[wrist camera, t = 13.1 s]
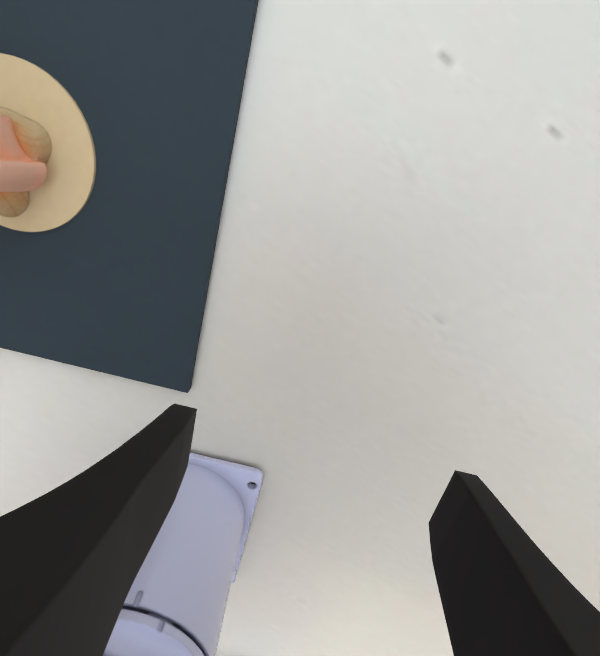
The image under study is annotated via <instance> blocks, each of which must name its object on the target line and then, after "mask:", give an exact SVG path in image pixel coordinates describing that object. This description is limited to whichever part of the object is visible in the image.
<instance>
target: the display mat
mask: <svg viewBox="0 0 600 656" xmlns="http://www.w3.org/2000/svg"><path fill="white" fill-rule="evenodd" d="M257 5H258V0H0V107H4V108H8V109H10V110H12V111H14V112H16V113H18V114H20V115H23V116H25V117H27V118H29V119H31V120H33V121H35V122H37V123H39V124H40V125H41V126H43V127H44V129H45V130H46V131H47V133H48V134H49V137H50V139H51V145H52V150H51V154H50V157H49V159H48V161H47V163H46V164H45V165H46V167H47V175H46V179H45V181H44V183H43V184H42V185H41V186H40V187H39V188H37V189H35V190H33V191H28V194H29V204H28V207H27V208H26V209H25V211H24V212H23V213H22V214H20V215H19V216H16V217H4V216H1V215H0V348H4V349H9V350H13V351H17V352H21V353H25V354H29V355H33V356H38V357H42V358H46V359H50V360H54V361H58V362H62V363H66V364H71V365H75V366H79V367H83V368H87V369H91V370H95V371H99V372H104V373H108V374H112V375H116V376H120V377H124V378H128V379H132V380H137V381H141V382H145V383H149V384H153V385H157V386H161V387H166V388H170V389H174V390H178V391H182V392H186V393H188V392H189V390H190V388H191V383H192V377H193V372H194V366H195V360H196V355H197V349H198V343H199V337H200V332H201V326H202V320H203V314H204V309H205V303H206V297H207V292H208V286H209V280H210V274H211V269H212V263H213V257H214V251H215V246H216V240H217V234H218V228H219V223H220V217H221V211H222V206H223V200H224V194H225V188H226V183H227V177H228V171H229V165H230V160H231V154H232V148H233V143H234V137H235V131H236V125H237V120H238V114H239V108H240V102H241V97H242V91H243V85H244V80H245V74H246V68H247V62H248V57H249V51H250V45H251V39H252V34H253V28H254V22H255V16H256V11H257Z"/></svg>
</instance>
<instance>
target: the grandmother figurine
mask: <svg viewBox="0 0 600 656" xmlns="http://www.w3.org/2000/svg"><path fill="white" fill-rule="evenodd" d="M51 150H52V145H51V139H50V137H49V134H48V133H47V131H46V130H45V129H44V127H43V126H41V125H40V124H39V123H37V122H35V121H33V120H31V119H29V118H27V117H25V116H23V115H20V114H18V113H16V112H14V111H12V110H10V109H8V108H4V107H0V215H1V216H4V217H16V216H19V215H20V214H22V213H23V212H24V211H25V209H26V208H27V207H28V204H29V194H28V191H33V190H35V189H37V188H39V187H40V186H41V185H42V184H43V183H44V181H45V179H46V175H47V167H46V165H45V164H46V163H47V161H48V159H49V157H50V154H51Z"/></svg>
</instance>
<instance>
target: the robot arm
mask: <svg viewBox="0 0 600 656" xmlns="http://www.w3.org/2000/svg"><path fill="white" fill-rule="evenodd" d="M196 411H197V409H195V408H191V407H187V406H182V405H178V404H173V405H171V406H170V407H169V408H167V409H166V410H165V411H164V412H163V413H162V414H161V415H159V416H158V417H157V418H156V419H155V420H154V421H152V422H151V423H150V424H149V425H147V426H146V427H145V428H144V429H143V430H141V431H140V432H139V433H137V434H136V435H135V436H134V437H132V438H131V439H130V440H128V441H127V442H126V443H124V444H123V445H122V446H120V447H119V448H118V449H116V450H115V451H113V452H112V453H111V454H109V455H108V456H106V457H105V458H103V459H102V460H100V461H99V462H97V463H96V464H94V465H93V466H91V467H90V468H88V469H87V470H85V471H84V472H82V473H81V474H79V475H77V476H76V477H74V478H72V479H71V480H69V481H67V482H66V483H64V484H62V485H61V486H59V487H57V488H55V489H54V490H52V491H50V492H48V493H46V494H45V495H43V496H41V497H39V498H37V499H35V500H33V501H31V502H29V503H27V504H25V505H23V506H21V507H19V508H17V509H15V510H13V511H11V512H9V513H7V514H5V515H3V516H1V517H0V656H215V655H216V650H217V646H218V641H219V636H220V632H221V627H222V622H223V618H224V613H225V608H226V604H227V599H228V595H229V590H230V585H231V583H233V582H234V581H235V578H236V574H237V571H238V567H239V564H240V560H241V556H242V553H243V549H244V546H245V542H246V538H247V535H248V531H249V528H250V524H251V520H252V517H253V513H254V510H255V506H256V502H257V499H258V495H259V492H260V488H261V484H262V481H263V472H262V471H261V470H260V469H257V468H254V467H249V466H245V465H241V464H237V463H232V462H228V461H224V460H220V459H215V458H211V457H207V456H203V455H198V454H194V453H190V449H191V443H192V436H193V430H194V424H195V418H196ZM250 482H254V483H255V484H251V483H250ZM429 532H430V544H431V553H432V561H433V566H434V570H435V575H436V579H437V584H438V588H439V593H440V597H441V602H442V606H443V610H444V614H445V619H446V623H447V627H448V632H449V636H450V640H451V645H452V649H453V654H454V656H600V612H599V611H598V610H597V609H596V608H595V607H594V606H593V605H592V604H591V603H590V602H589V601H588V600H587V599H586V598H585V597H584V596H583V595H582V594H581V593H580V592H579V591H578V590H577V589H576V588H575V587H574V586H573V585H572V584H571V583H570V582H569V581H568V580H567V579H566V578H565V576H564V575H563V574H562V573H561V572H560V571H559V570H558V569H557V568H556V567H555V566H554V565H553V564H552V562H551V561H550V560H549V559H548V558H547V557H546V556H545V555H544V553H543V552H542V551H541V550H540V549H539V548H538V547H537V546H536V544H535V543H534V542H533V541H532V540H531V539H530V537H529V536H528V535H527V534H526V533H525V532H524V530H523V529H522V528H521V527H520V526H519V524H518V523H517V522H516V521H515V520H514V518H513V517H512V516H511V515H510V514H509V512H508V511H507V510H506V509H505V508H504V506H503V505H502V504H501V503H500V502H499V500H498V499H497V498H496V497H495V496H494V494H493V493H492V492H491V491H490V490H489V489H488V487H487V486H486V485H485V484H484V483H483V482H482V481H481V479H480V478H479V477H478V476H477V475H472V474H468V473H464V472H460V471H456V470H455V472H454V474H453V476H452V478H451V480H450V482H449V484H448V486H447V488H446V490H445V492H444V494H443V496H442V497H441V499H440V501H439V503H438V505H437V507H436V509H435V511H434V513H433V515H432V517H431V519H430V521H429Z"/></svg>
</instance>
